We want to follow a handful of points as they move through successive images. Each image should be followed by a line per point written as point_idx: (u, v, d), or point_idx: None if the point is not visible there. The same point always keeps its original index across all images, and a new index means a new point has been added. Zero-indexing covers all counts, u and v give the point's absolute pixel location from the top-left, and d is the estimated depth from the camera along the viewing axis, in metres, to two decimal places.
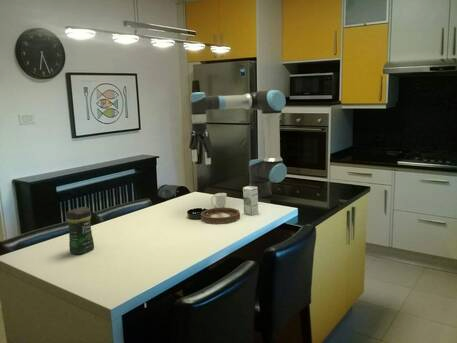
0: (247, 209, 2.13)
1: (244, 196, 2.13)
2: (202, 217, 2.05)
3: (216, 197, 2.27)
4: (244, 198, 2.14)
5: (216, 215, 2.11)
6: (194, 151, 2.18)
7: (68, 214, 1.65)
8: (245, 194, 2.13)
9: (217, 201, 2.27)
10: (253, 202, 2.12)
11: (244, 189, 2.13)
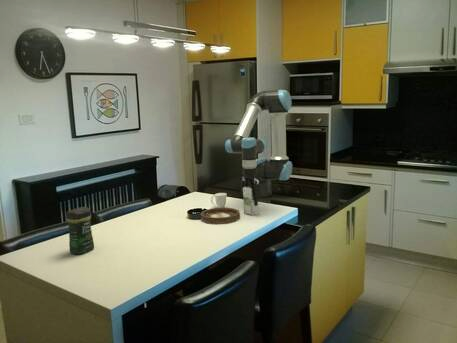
0: (247, 209, 2.13)
1: (244, 196, 2.13)
2: (202, 217, 2.05)
3: (216, 197, 2.27)
4: (244, 198, 2.14)
5: (216, 215, 2.11)
6: None
7: (68, 214, 1.65)
8: (245, 194, 2.13)
9: (217, 201, 2.27)
10: None
11: (244, 189, 2.13)
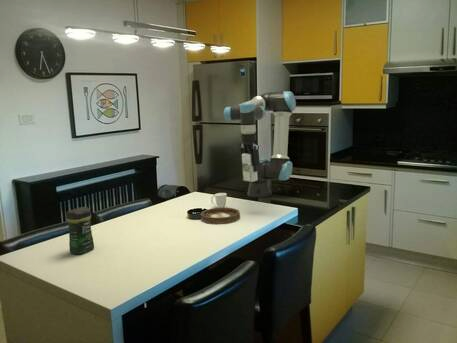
0: (246, 176, 2.10)
1: (243, 162, 2.10)
2: (202, 217, 2.05)
3: (216, 197, 2.27)
4: (243, 165, 2.11)
5: (216, 215, 2.11)
6: None
7: (68, 214, 1.65)
8: (244, 161, 2.10)
9: (217, 201, 2.27)
10: None
11: (243, 155, 2.10)
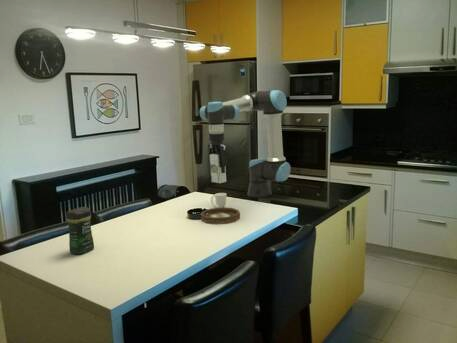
0: (214, 177, 2.04)
1: (211, 163, 2.04)
2: (202, 217, 2.05)
3: (216, 197, 2.27)
4: (211, 165, 2.04)
5: (216, 215, 2.11)
6: None
7: (68, 214, 1.65)
8: (212, 161, 2.03)
9: (217, 201, 2.27)
10: None
11: (211, 156, 2.03)
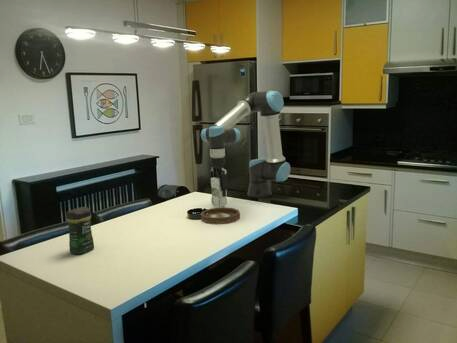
0: (215, 200, 2.06)
1: (212, 187, 2.06)
2: (202, 217, 2.05)
3: None
4: (212, 189, 2.06)
5: (216, 215, 2.11)
6: None
7: (68, 214, 1.65)
8: (213, 185, 2.05)
9: None
10: None
11: (212, 179, 2.05)
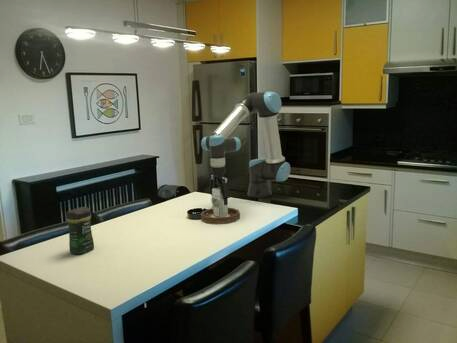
0: (216, 211, 2.07)
1: (213, 197, 2.07)
2: (202, 217, 2.05)
3: None
4: (213, 200, 2.08)
5: None
6: None
7: (68, 214, 1.65)
8: (214, 196, 2.07)
9: None
10: None
11: (213, 190, 2.07)
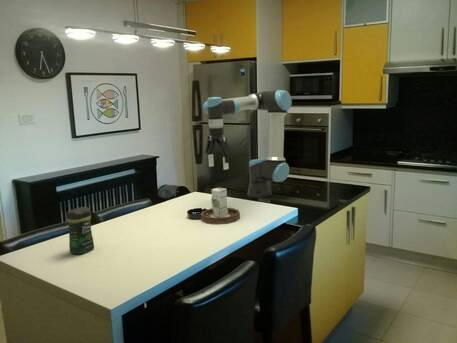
0: (216, 211, 2.07)
1: (213, 198, 2.07)
2: (202, 217, 2.05)
3: None
4: (213, 200, 2.07)
5: None
6: (210, 156, 2.17)
7: (68, 214, 1.65)
8: (213, 196, 2.07)
9: None
10: (222, 204, 2.06)
11: (212, 191, 2.06)
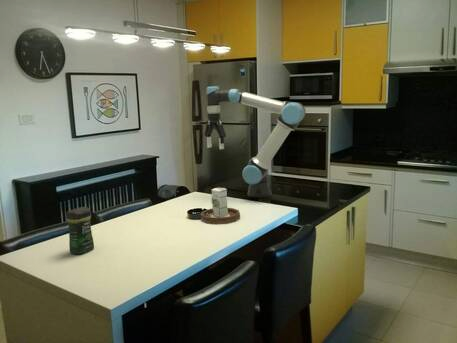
0: (216, 211, 2.07)
1: (213, 198, 2.07)
2: (202, 217, 2.05)
3: None
4: (213, 200, 2.07)
5: None
6: (209, 138, 2.50)
7: (68, 214, 1.65)
8: (213, 196, 2.07)
9: None
10: (222, 204, 2.06)
11: (212, 191, 2.06)
